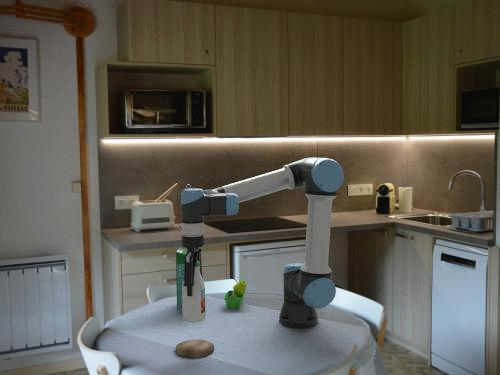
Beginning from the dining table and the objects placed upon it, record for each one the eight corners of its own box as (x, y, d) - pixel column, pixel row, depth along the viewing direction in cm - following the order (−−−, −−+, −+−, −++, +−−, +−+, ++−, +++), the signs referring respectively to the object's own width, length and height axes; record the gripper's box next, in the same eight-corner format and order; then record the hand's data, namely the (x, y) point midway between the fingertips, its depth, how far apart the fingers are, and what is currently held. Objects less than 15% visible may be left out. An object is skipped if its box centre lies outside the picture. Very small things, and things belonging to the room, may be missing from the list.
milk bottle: (196, 324, 179) (195, 264, 177) (177, 320, 183) (176, 262, 181) (209, 317, 185) (209, 260, 183) (192, 314, 189) (191, 257, 187)
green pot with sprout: (228, 301, 240) (228, 276, 239) (248, 302, 239) (248, 277, 238) (223, 309, 229) (223, 283, 228) (244, 310, 227) (244, 283, 226)
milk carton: (198, 309, 228) (197, 251, 226) (176, 309, 228) (175, 251, 226) (200, 303, 237) (199, 247, 235) (179, 303, 237) (178, 247, 235)
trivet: (217, 343, 190) (217, 340, 190) (209, 358, 177) (209, 355, 177) (181, 342, 192) (181, 338, 192) (170, 356, 179) (170, 352, 179)
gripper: (190, 229, 192) (190, 292, 194) (172, 240, 172) (174, 310, 174) (210, 230, 191) (211, 293, 193) (195, 240, 171) (196, 311, 173)
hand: (193, 301), depth 183 cm, fingers closed on milk bottle, 7 cm apart
